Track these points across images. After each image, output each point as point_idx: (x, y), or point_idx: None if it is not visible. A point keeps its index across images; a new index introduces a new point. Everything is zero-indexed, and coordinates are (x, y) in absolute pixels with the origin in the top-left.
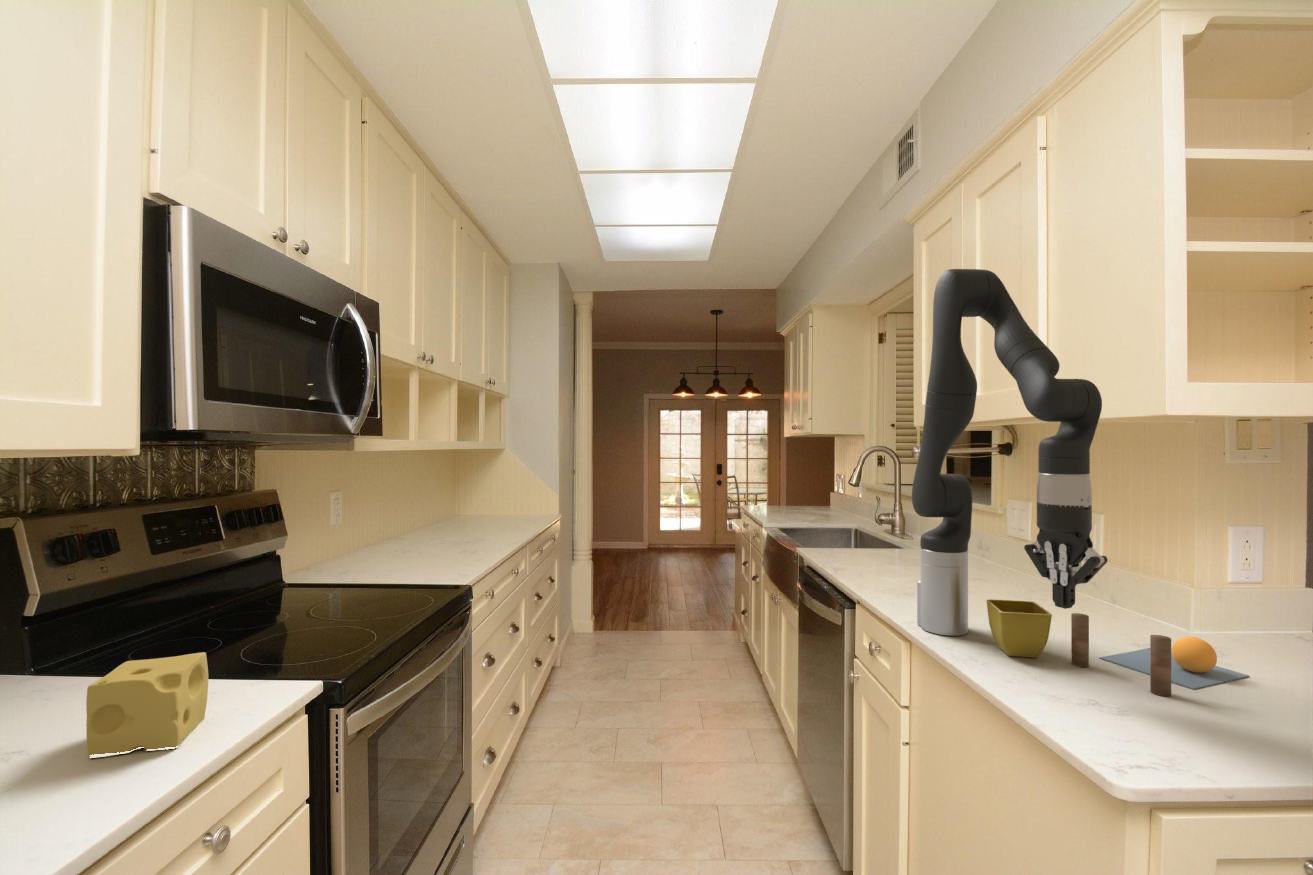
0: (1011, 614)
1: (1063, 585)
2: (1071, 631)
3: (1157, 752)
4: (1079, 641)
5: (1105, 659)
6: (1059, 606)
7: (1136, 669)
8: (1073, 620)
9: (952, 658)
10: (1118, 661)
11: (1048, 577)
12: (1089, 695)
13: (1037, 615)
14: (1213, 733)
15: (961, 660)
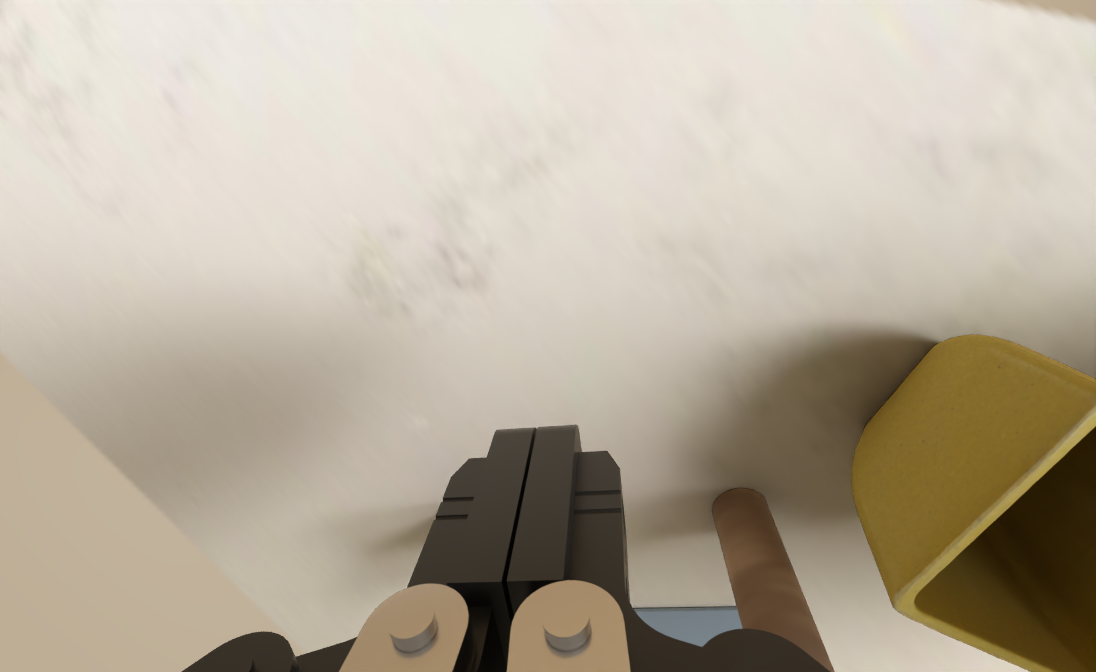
0: (1051, 436)
1: (431, 586)
2: (801, 596)
3: (101, 125)
4: (748, 566)
5: (737, 609)
6: (538, 429)
7: (636, 612)
8: (802, 642)
9: (1081, 43)
10: (708, 625)
11: (692, 662)
12: (511, 308)
13: (938, 547)
14: (227, 402)
15: (1030, 74)
